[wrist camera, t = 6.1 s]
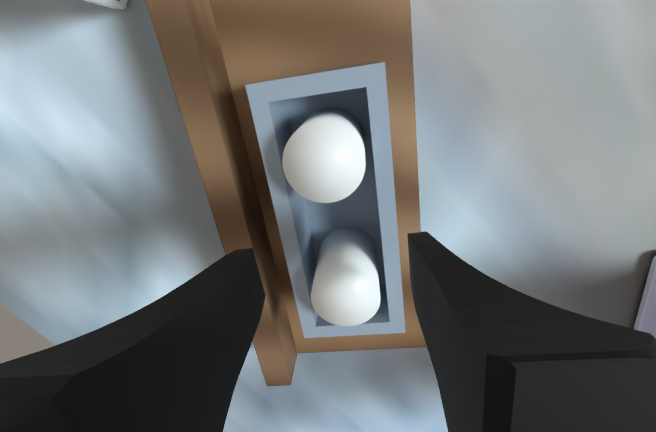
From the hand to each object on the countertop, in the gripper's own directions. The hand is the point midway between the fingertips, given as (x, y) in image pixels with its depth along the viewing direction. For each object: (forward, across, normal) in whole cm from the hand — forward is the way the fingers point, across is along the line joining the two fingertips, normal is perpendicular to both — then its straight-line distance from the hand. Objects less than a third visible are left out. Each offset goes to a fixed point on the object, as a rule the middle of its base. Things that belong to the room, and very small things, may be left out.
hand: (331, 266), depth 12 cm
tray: (+7, 0, 0) cm, 7 cm away
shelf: (+8, +1, 0) cm, 8 cm away
